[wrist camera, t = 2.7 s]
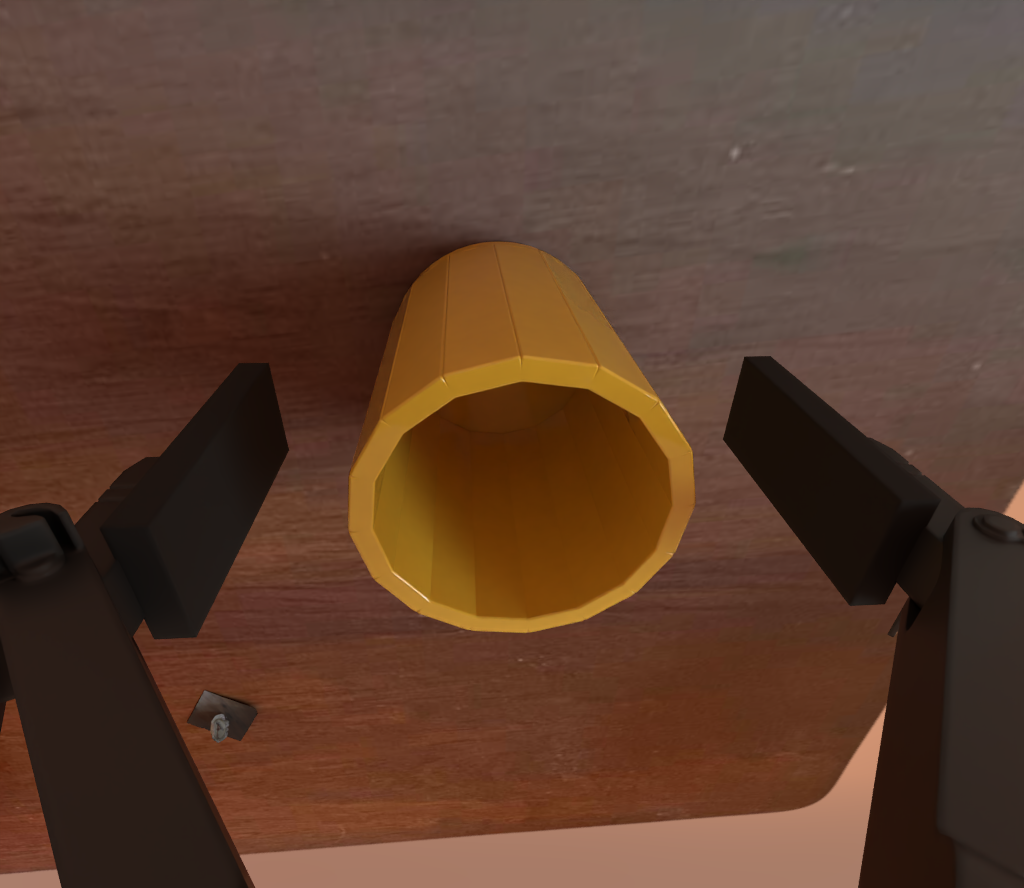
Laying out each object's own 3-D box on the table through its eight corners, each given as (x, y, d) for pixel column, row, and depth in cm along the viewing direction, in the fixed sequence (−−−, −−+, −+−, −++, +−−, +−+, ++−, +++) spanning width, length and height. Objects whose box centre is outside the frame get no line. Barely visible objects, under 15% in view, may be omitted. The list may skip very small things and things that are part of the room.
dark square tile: (187, 722, 28) (174, 744, 27) (205, 689, 27) (192, 712, 26) (241, 740, 29) (231, 763, 28) (260, 709, 28) (250, 732, 27)
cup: (348, 329, 18) (268, 499, 10) (523, 191, 16) (580, 275, 9) (478, 466, 21) (489, 671, 14) (635, 365, 20) (748, 535, 12)
